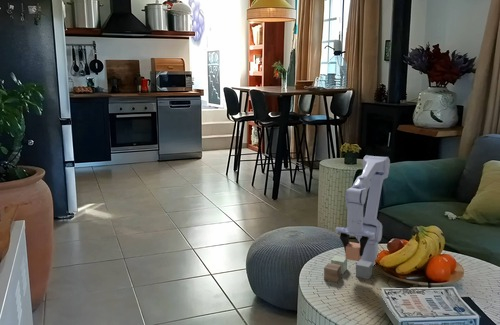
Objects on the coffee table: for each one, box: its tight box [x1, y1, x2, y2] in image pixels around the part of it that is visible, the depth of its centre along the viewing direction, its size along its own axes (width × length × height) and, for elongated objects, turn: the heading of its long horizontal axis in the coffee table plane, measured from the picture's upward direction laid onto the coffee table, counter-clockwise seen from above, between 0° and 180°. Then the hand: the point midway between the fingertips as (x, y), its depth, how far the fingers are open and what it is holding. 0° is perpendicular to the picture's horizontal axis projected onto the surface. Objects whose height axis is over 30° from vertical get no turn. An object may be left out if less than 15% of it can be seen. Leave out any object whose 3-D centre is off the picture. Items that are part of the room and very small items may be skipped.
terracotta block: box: [345, 241, 362, 262], centre depth 172 cm, size 5×5×5 cm
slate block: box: [355, 260, 373, 280], centre depth 175 cm, size 5×5×5 cm
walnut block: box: [323, 262, 342, 283], centre depth 173 cm, size 5×5×5 cm
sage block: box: [330, 254, 348, 275], centre depth 180 cm, size 5×5×5 cm
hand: (354, 253), depth 172 cm, fingers closed on terracotta block, 5 cm apart
